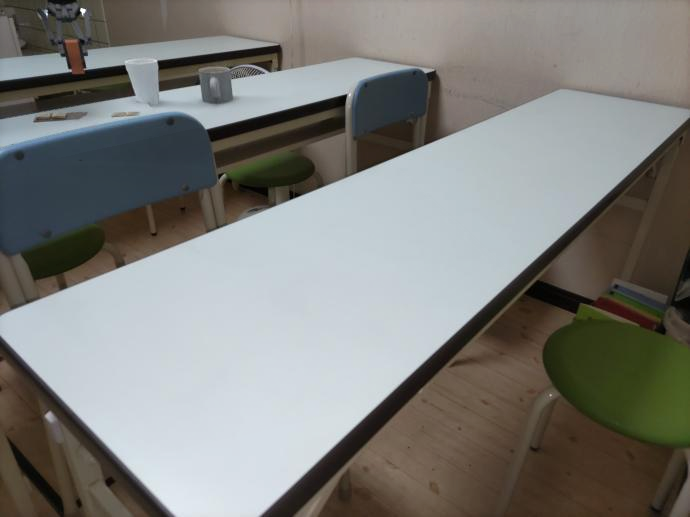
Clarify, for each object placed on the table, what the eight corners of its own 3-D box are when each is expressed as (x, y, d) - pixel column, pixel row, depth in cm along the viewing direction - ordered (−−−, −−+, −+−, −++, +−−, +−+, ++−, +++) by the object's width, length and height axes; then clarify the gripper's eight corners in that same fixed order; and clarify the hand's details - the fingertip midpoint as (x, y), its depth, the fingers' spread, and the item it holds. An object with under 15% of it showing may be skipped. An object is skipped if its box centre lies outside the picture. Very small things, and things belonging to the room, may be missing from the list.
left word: (34, 124, 141) (32, 119, 140) (40, 116, 147) (38, 111, 146) (85, 122, 144) (84, 117, 143) (89, 115, 150) (87, 109, 150)
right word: (94, 124, 143) (92, 118, 142) (97, 116, 149) (96, 111, 149) (139, 122, 146) (138, 116, 145) (140, 114, 153) (139, 109, 152)
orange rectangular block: (72, 74, 138) (65, 42, 133) (71, 70, 141) (64, 39, 137) (84, 73, 139) (77, 42, 135) (83, 70, 143) (76, 39, 138)
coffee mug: (208, 97, 174) (204, 66, 168) (236, 98, 173) (233, 67, 168) (194, 107, 162) (190, 74, 157) (225, 108, 161) (221, 75, 156)
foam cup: (127, 104, 162) (118, 61, 156) (153, 99, 168) (146, 57, 162) (143, 109, 157) (135, 65, 150) (170, 103, 163) (163, 61, 157)
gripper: (93, 1, 147) (110, 72, 143) (29, 1, 140) (45, 76, 136) (90, -19, 140) (108, 55, 136) (23, -20, 133) (40, 58, 129)
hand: (76, 65), depth 136 cm, fingers closed on orange rectangular block, 3 cm apart
